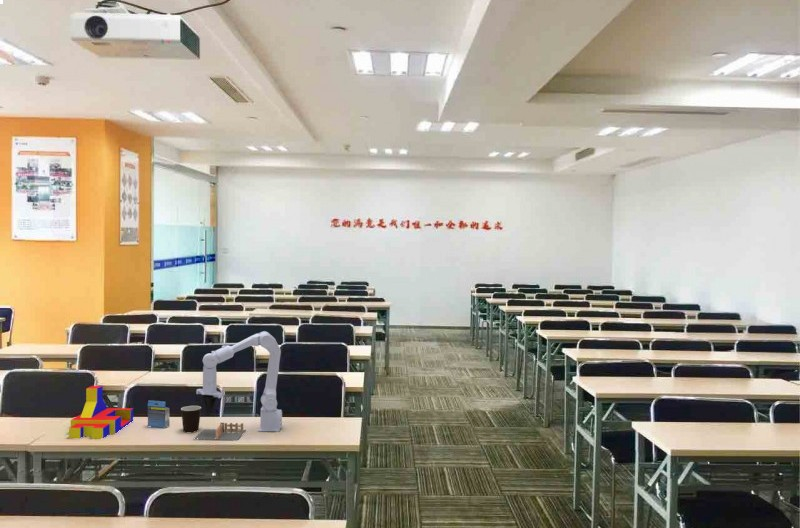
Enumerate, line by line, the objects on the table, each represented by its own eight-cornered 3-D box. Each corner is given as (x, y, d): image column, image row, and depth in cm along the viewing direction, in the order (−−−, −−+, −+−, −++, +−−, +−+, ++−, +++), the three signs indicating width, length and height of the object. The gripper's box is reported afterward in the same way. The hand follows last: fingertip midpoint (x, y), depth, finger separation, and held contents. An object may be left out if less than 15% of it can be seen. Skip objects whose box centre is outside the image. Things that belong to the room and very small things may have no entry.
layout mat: (246, 430, 259) (246, 429, 259) (237, 440, 245) (237, 439, 245) (204, 429, 259) (204, 429, 259) (192, 439, 245) (192, 439, 245)
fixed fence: (243, 432, 256) (243, 422, 256) (242, 434, 254) (242, 423, 254) (220, 432, 256) (220, 422, 256) (219, 433, 254) (219, 423, 254)
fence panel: (220, 432, 254) (220, 423, 254) (222, 432, 254) (222, 423, 254) (215, 438, 246) (215, 429, 246) (218, 438, 246) (218, 429, 246)
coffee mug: (196, 433, 254) (197, 411, 254) (177, 433, 254) (177, 410, 254) (206, 425, 266) (206, 404, 265) (187, 425, 266) (187, 403, 266)
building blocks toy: (63, 439, 244) (63, 396, 244) (92, 422, 269) (92, 383, 269) (108, 439, 245) (108, 396, 245) (133, 422, 270) (133, 383, 270)
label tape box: (169, 426, 264) (170, 399, 264) (165, 428, 260) (165, 401, 260) (152, 424, 266) (152, 398, 265) (147, 427, 262) (147, 400, 261)
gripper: (190, 380, 253) (190, 411, 253) (214, 385, 245) (214, 416, 246) (203, 378, 259) (203, 408, 259) (226, 382, 251) (226, 412, 252)
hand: (209, 412), depth 253 cm, fingers closed
